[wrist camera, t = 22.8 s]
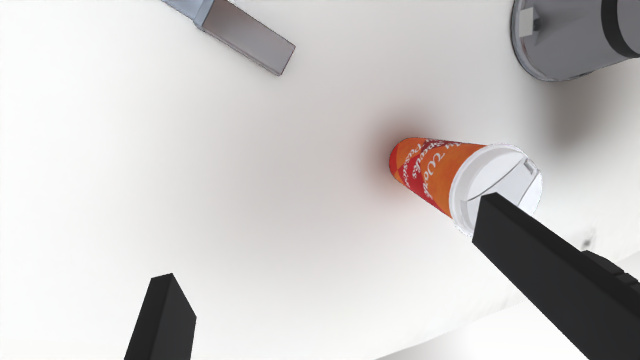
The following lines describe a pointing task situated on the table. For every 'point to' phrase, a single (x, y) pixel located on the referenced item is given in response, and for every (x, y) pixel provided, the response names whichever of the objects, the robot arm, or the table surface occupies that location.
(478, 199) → the coffee cup
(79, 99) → the table surface
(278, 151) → the table surface
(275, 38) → the letter opener
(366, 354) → the table surface
